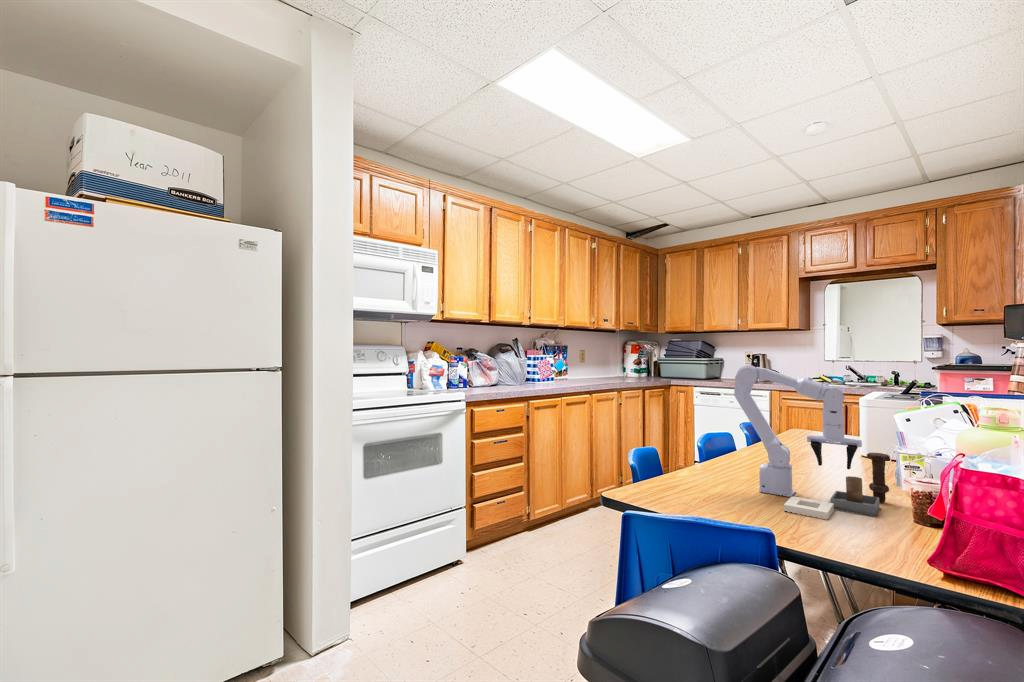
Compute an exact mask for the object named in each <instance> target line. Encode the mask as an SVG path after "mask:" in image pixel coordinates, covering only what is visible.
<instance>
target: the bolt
mask: <svg viewBox="0 0 1024 682" xmlns="http://www.w3.org/2000/svg"><path fill="white" fill-rule="evenodd" d="M866 458H867V459H869V460H871V466H872V467H871V468H872V471H871V473H872V482H871V483H869V484H868V488H869V489H870V491H872V496H873V497H879V504H884V502H885V503H886V500H887V499H886V493H888V492H889V491H890V487H889V486H888V485H887V484H886V467H885V466H886V462H887V461H888V462H889V461H890V460H891V456H890V455H889V454H888V453H887V454H886V453H882V452H868V453H866Z"/></svg>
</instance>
